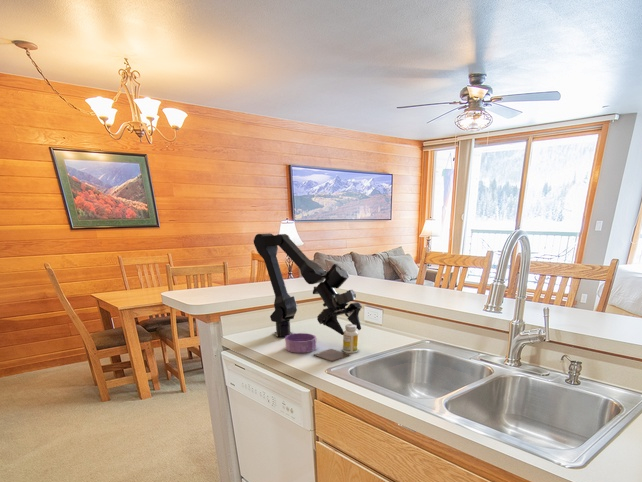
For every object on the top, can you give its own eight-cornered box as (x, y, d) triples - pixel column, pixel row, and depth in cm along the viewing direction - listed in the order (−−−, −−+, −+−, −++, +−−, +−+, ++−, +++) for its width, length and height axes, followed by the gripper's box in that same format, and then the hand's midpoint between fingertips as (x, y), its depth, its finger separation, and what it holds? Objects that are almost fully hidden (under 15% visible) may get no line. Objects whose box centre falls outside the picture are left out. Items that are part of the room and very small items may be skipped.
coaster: (313, 355, 146) (313, 354, 146) (331, 349, 152) (331, 349, 152) (332, 361, 141) (331, 360, 140) (349, 355, 147) (349, 354, 147)
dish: (283, 345, 155) (282, 334, 153) (312, 343, 159) (311, 332, 157) (288, 355, 145) (288, 342, 144) (319, 352, 149) (319, 340, 147)
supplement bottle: (344, 353, 148) (344, 327, 144) (342, 349, 153) (342, 323, 149) (358, 353, 149) (359, 327, 145) (356, 348, 154) (356, 323, 150)
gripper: (322, 285, 138) (346, 323, 136) (358, 279, 151) (381, 314, 149) (307, 305, 145) (329, 341, 144) (342, 298, 158) (363, 331, 157)
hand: (352, 331), depth 148 cm, fingers open, 9 cm apart
